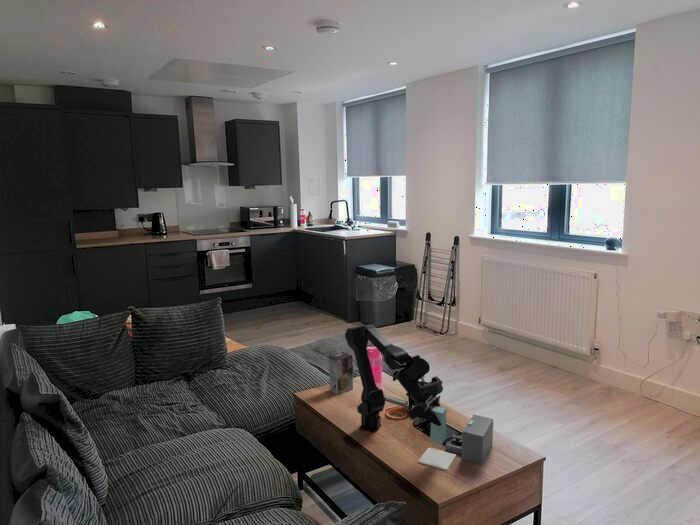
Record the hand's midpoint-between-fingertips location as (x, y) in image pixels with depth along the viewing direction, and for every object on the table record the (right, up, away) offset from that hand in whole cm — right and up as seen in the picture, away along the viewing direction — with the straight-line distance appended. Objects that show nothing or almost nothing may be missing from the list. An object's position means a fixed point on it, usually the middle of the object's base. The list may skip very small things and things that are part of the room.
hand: (442, 422), depth 164 cm
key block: (-1, -6, +2) cm, 7 cm away
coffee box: (-35, -4, +60) cm, 69 cm away
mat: (-1, -13, +3) cm, 13 cm away
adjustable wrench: (-14, -7, +48) cm, 50 cm away
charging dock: (+10, -12, +9) cm, 18 cm away
